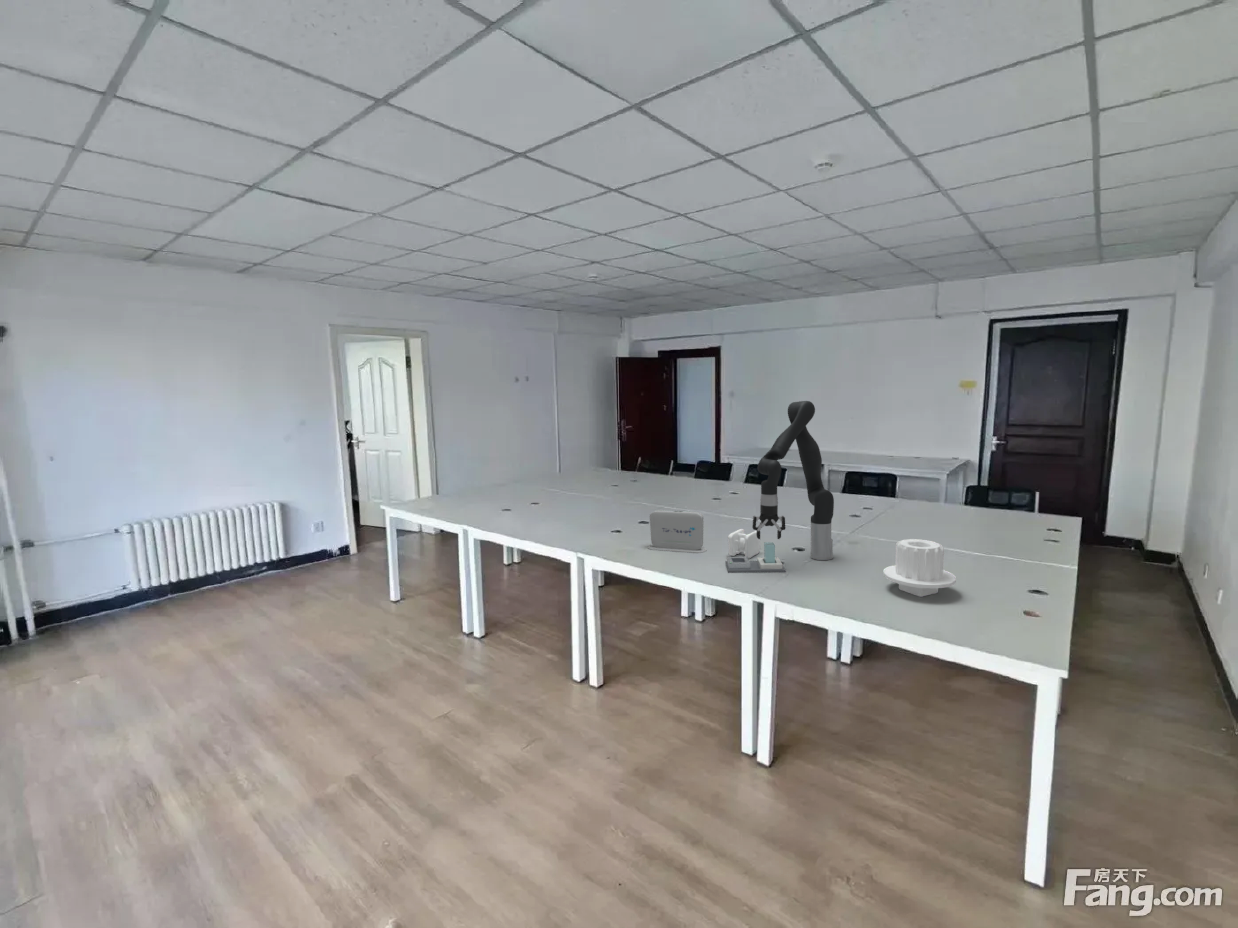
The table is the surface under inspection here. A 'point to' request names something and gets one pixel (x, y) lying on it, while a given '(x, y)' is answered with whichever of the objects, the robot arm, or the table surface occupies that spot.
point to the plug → (769, 552)
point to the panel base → (754, 568)
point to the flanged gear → (919, 567)
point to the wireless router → (677, 531)
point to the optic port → (738, 563)
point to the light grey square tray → (769, 564)
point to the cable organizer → (743, 543)
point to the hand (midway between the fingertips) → (768, 538)
